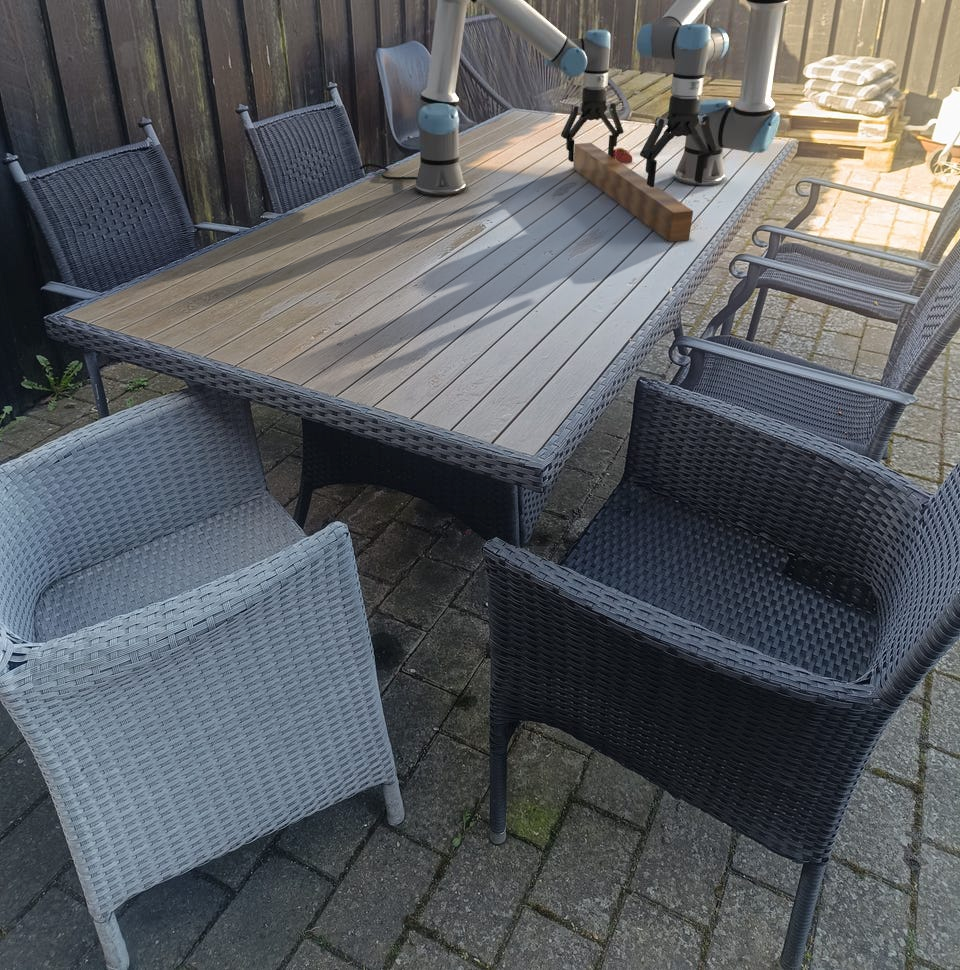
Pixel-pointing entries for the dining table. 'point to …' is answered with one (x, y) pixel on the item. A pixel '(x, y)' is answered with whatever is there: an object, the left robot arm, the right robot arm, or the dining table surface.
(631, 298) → the dining table surface
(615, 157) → the red rounded lump
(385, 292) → the dining table surface
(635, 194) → the beam
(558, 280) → the dining table surface
